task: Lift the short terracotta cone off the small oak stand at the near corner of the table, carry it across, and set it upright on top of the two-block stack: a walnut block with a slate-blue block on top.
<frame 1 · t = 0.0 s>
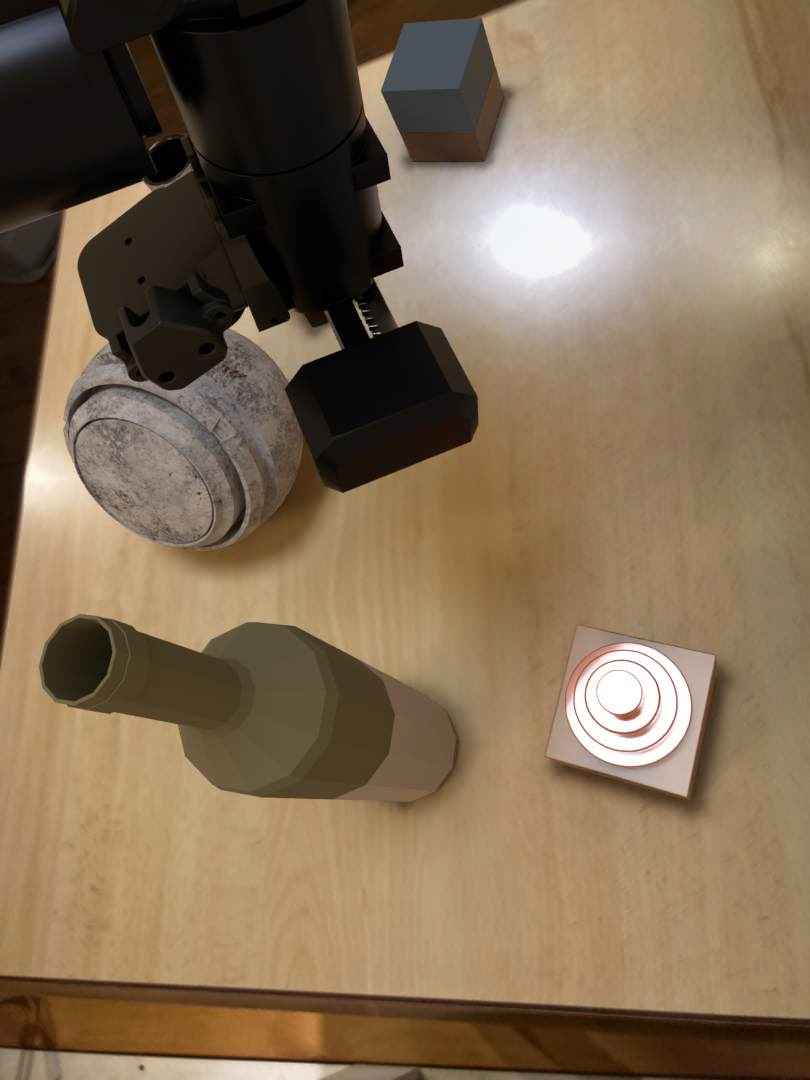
hand: (352, 390, 41), 16 cm above the table, tool pointing down, fingers open, 9 cm apart
stand: (638, 720, 47), on the table
decorative orb: (247, 477, 61), on the table
top block: (446, 98, 62), point 3 cm above the table, touching base block
planter: (240, 250, 69), on the table
bottle: (413, 747, 51), on the table
ink box: (317, 276, 65), on the table
cone: (629, 706, 42), point 6 cm above the table, touching stand
base block: (457, 129, 65), on the table, touching top block
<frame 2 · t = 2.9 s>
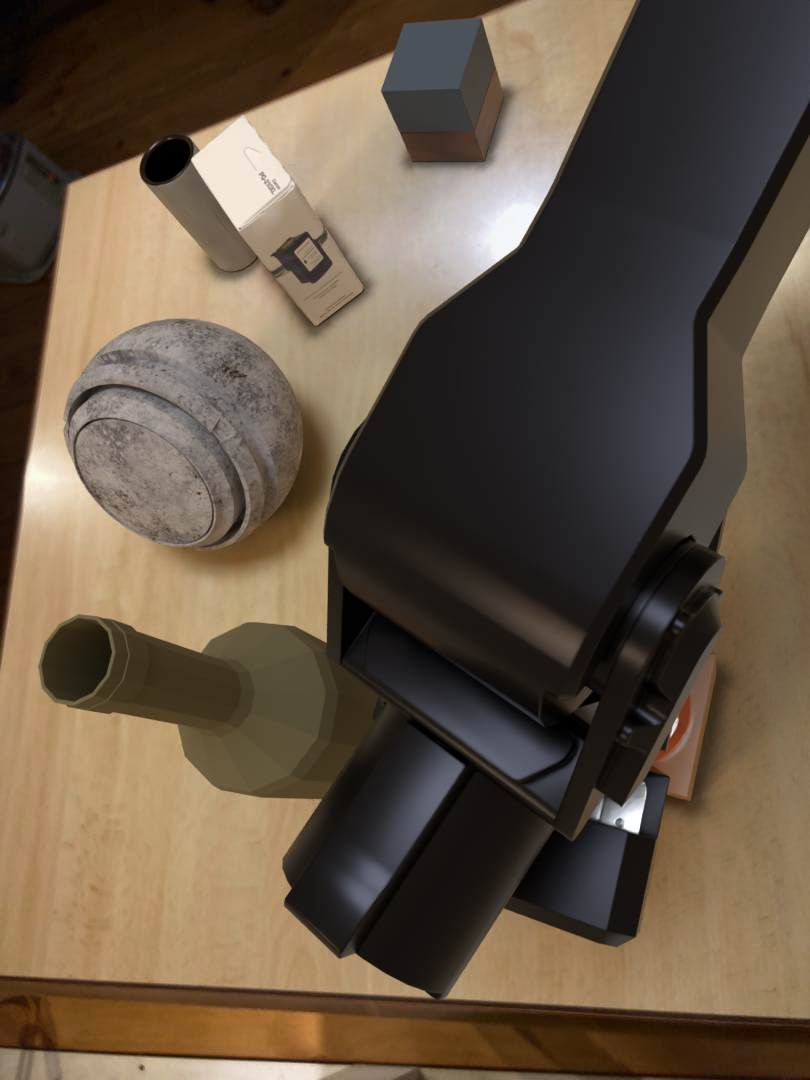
hand: (626, 701, 40), 8 cm above the table, tool pointing down, fingers closed on cone, 5 cm apart
cone: (629, 706, 42), point 6 cm above the table, touching gripper, stand
everything else where it was.
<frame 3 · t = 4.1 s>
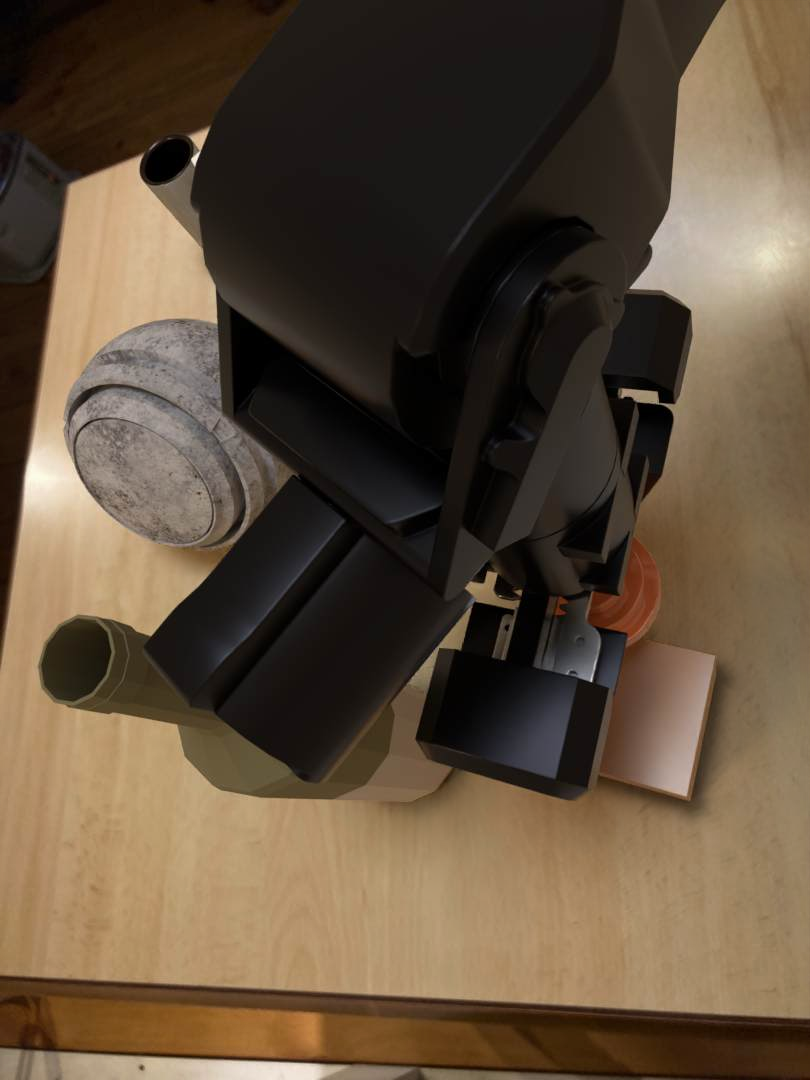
hand: (591, 583, 38), 12 cm above the table, tool pointing down, fingers closed on cone, 5 cm apart
cone: (595, 592, 40), point 10 cm above the table, touching gripper
everything else where it was.
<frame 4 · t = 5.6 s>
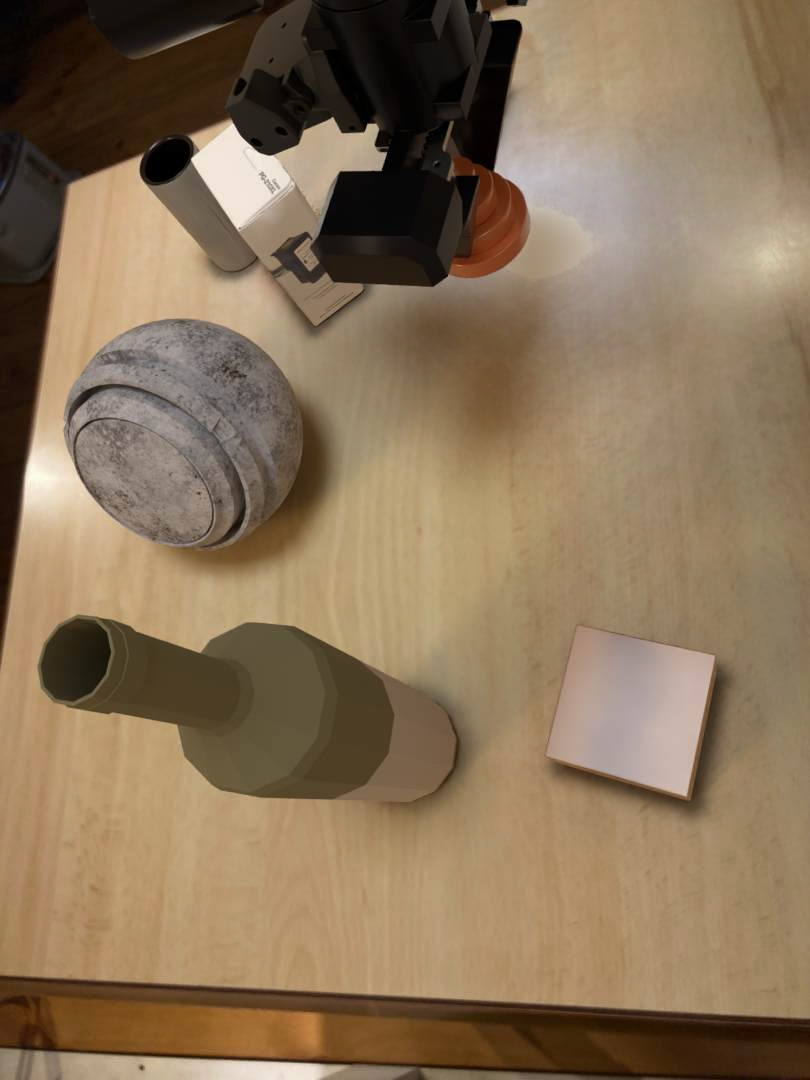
hand: (473, 215, 47), 12 cm above the table, tool pointing down, fingers closed on cone, 5 cm apart
cone: (479, 233, 48), point 11 cm above the table, touching gripper
everything else where it was.
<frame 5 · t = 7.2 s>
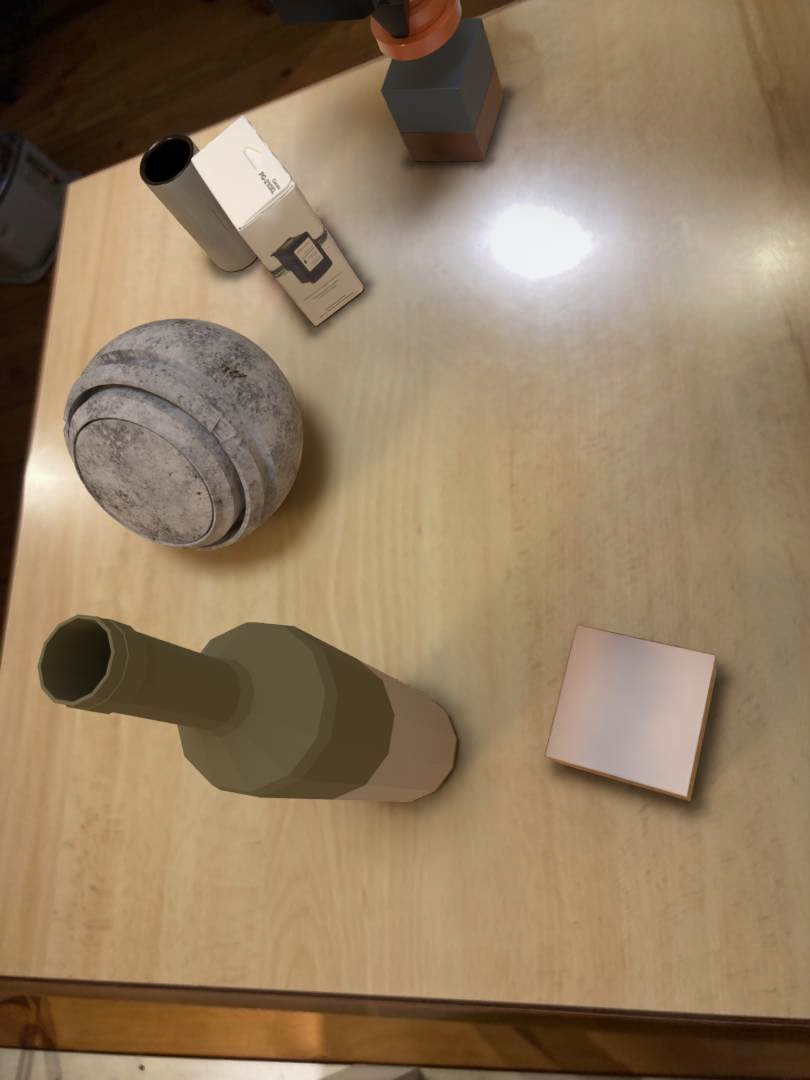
hand: (412, 5, 55), 11 cm above the table, tool pointing down, fingers closed on cone, 5 cm apart
cone: (418, 24, 56), point 9 cm above the table, touching gripper
everything else where it was.
when the fingers open (8 cm above the table, at t = 8.4 s): cone stays where it is, resting on top block.
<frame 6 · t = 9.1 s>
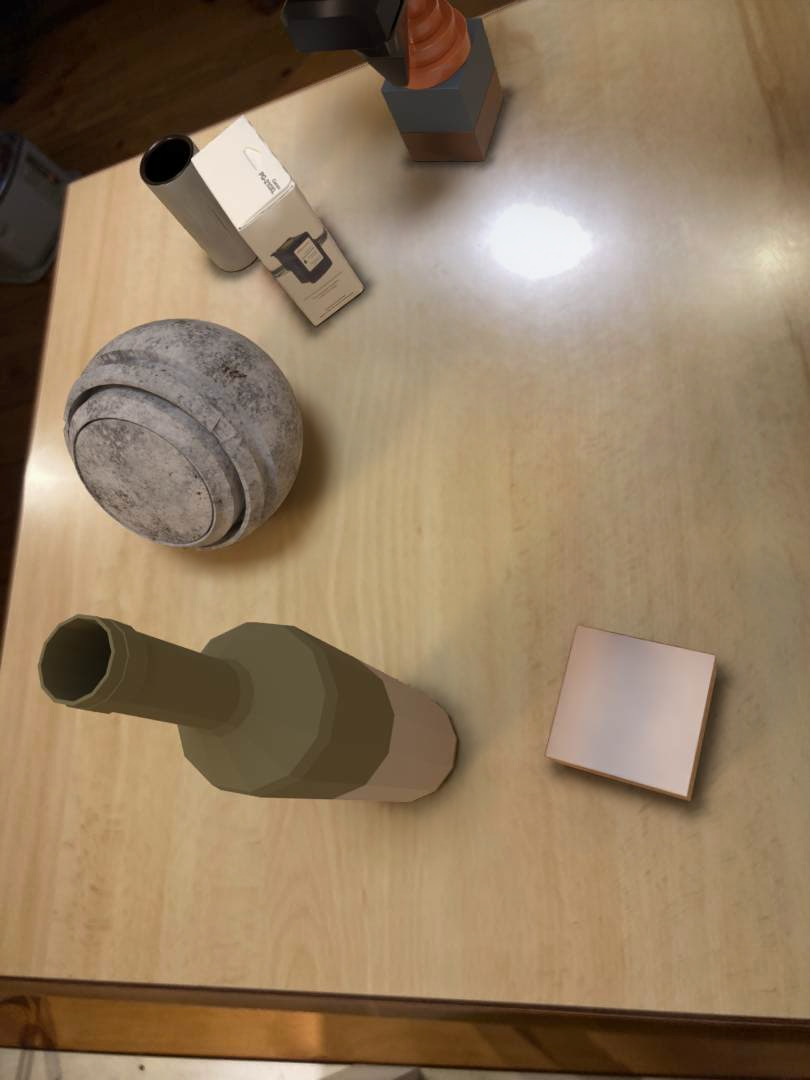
hand: (420, 29, 57), 9 cm above the table, tool pointing down, fingers open, 9 cm apart
top block: (446, 98, 62), point 3 cm above the table, touching base block, cone
cone: (429, 54, 58), point 7 cm above the table, touching top block
everything else where it was.
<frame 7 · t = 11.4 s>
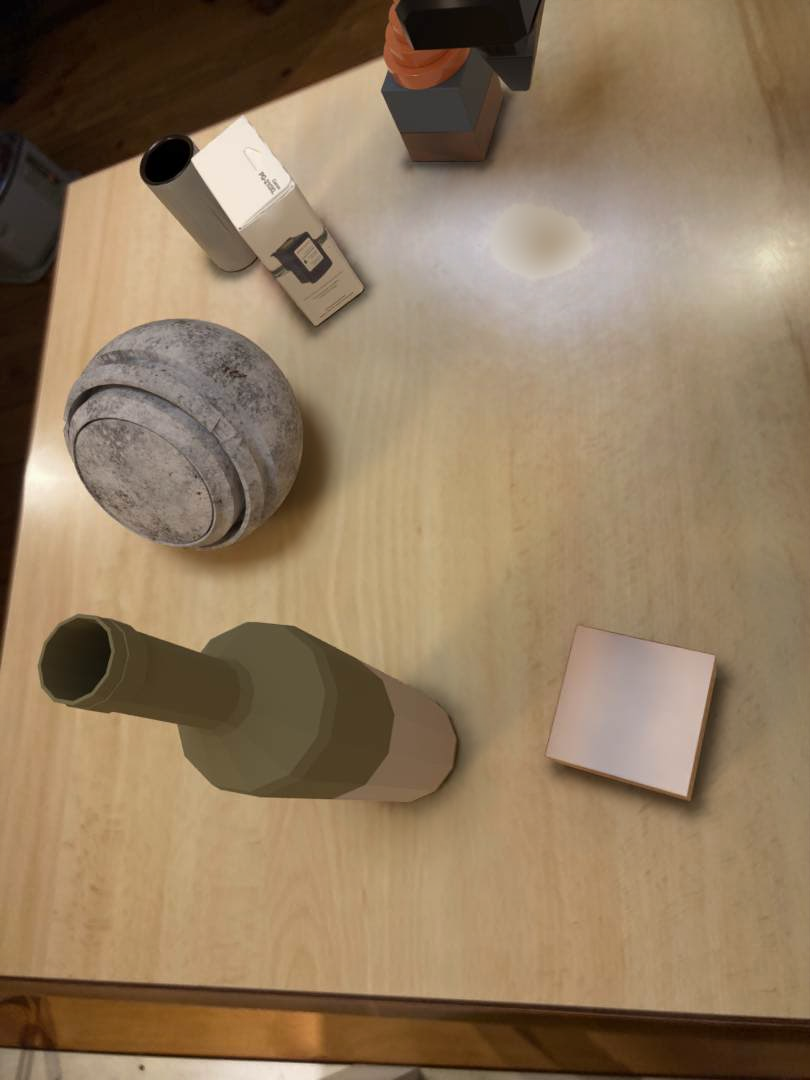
hand: (541, 23, 48), 13 cm above the table, tool pointing down, fingers open, 9 cm apart
nothing on the table moved.
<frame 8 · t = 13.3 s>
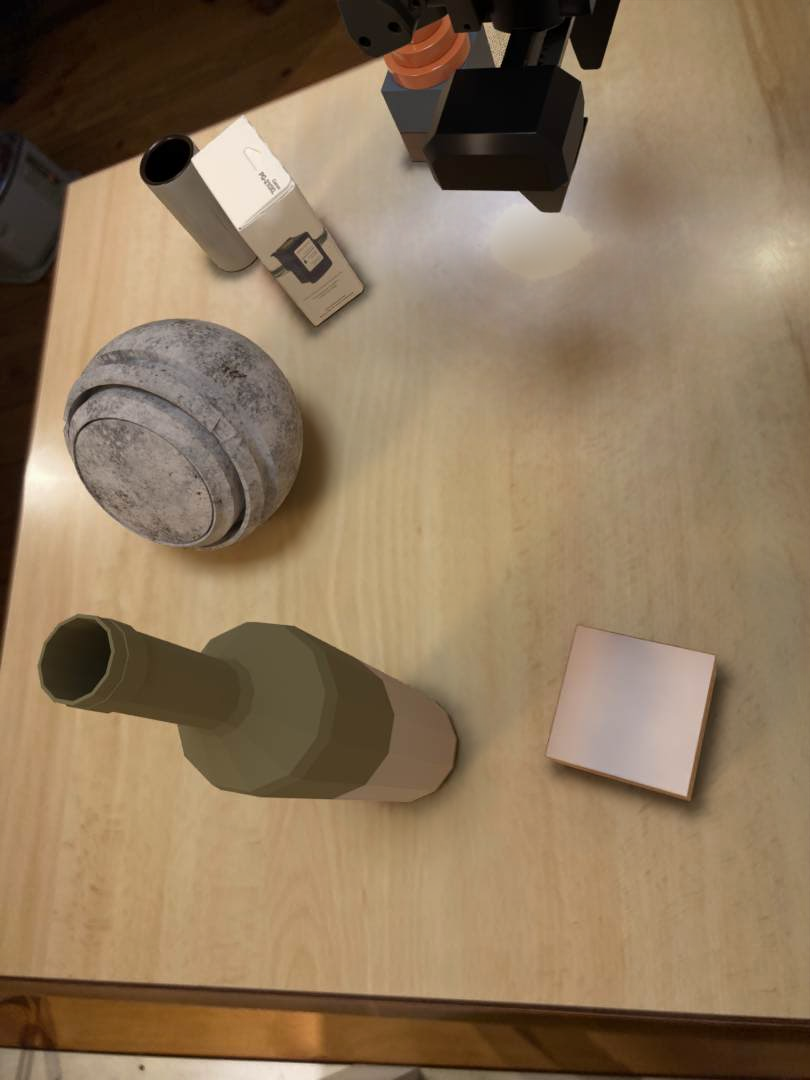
hand: (571, 137, 45), 13 cm above the table, tool pointing down, fingers open, 9 cm apart
nothing on the table moved.
at the end: cone 0.1 cm off-centre on the top block, point 4.0 cm above the top block's base; cone tilted 0°; top block touching base block, cone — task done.
